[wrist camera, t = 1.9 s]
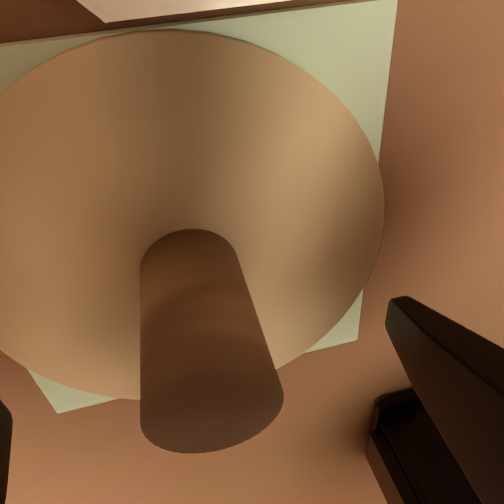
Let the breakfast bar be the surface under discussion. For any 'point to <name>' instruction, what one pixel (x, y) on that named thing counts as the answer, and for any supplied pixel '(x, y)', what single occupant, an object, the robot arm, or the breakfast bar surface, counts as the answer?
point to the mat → (293, 50)
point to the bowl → (158, 7)
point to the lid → (180, 226)
